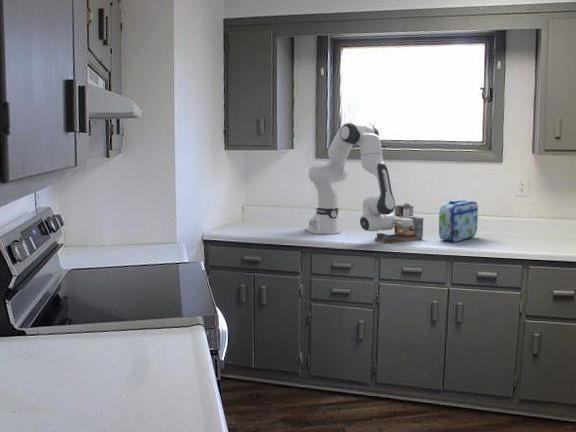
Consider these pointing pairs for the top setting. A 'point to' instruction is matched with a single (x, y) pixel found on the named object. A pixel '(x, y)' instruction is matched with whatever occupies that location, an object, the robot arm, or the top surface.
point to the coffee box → (401, 215)
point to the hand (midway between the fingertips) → (407, 219)
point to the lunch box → (458, 220)
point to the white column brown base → (406, 215)
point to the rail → (399, 237)
